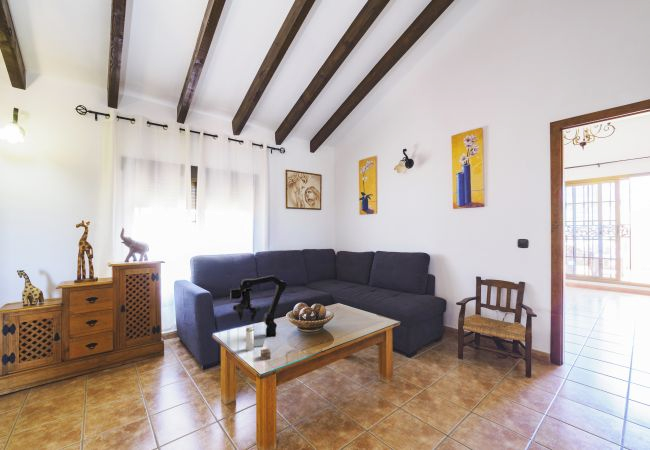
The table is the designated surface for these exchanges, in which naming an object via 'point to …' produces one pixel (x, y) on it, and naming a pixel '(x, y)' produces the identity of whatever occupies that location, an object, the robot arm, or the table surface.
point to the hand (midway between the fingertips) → (246, 320)
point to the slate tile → (259, 343)
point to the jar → (250, 339)
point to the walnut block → (265, 354)
